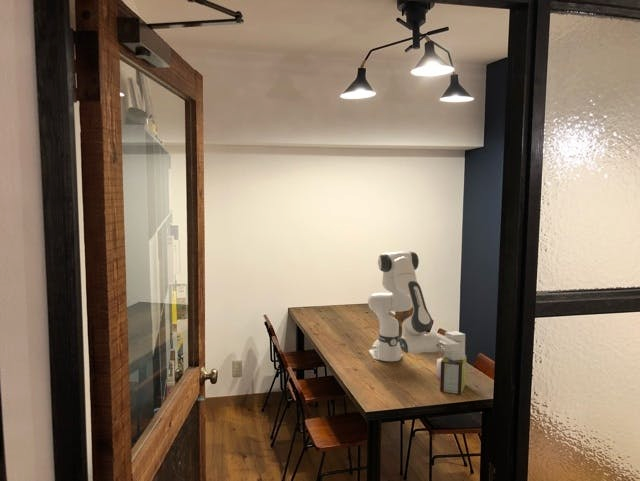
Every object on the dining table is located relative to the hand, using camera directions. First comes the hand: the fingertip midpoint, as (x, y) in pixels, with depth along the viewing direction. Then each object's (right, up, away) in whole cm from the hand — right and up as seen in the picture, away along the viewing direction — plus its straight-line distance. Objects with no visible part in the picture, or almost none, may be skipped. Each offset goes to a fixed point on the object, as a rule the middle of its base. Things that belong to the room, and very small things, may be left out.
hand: (456, 340), depth 242 cm
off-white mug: (-2, -23, +17) cm, 28 cm away
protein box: (-1, -24, +2) cm, 25 cm away
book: (-11, -18, +73) cm, 76 cm away
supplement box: (-1, -9, 0) cm, 9 cm away
